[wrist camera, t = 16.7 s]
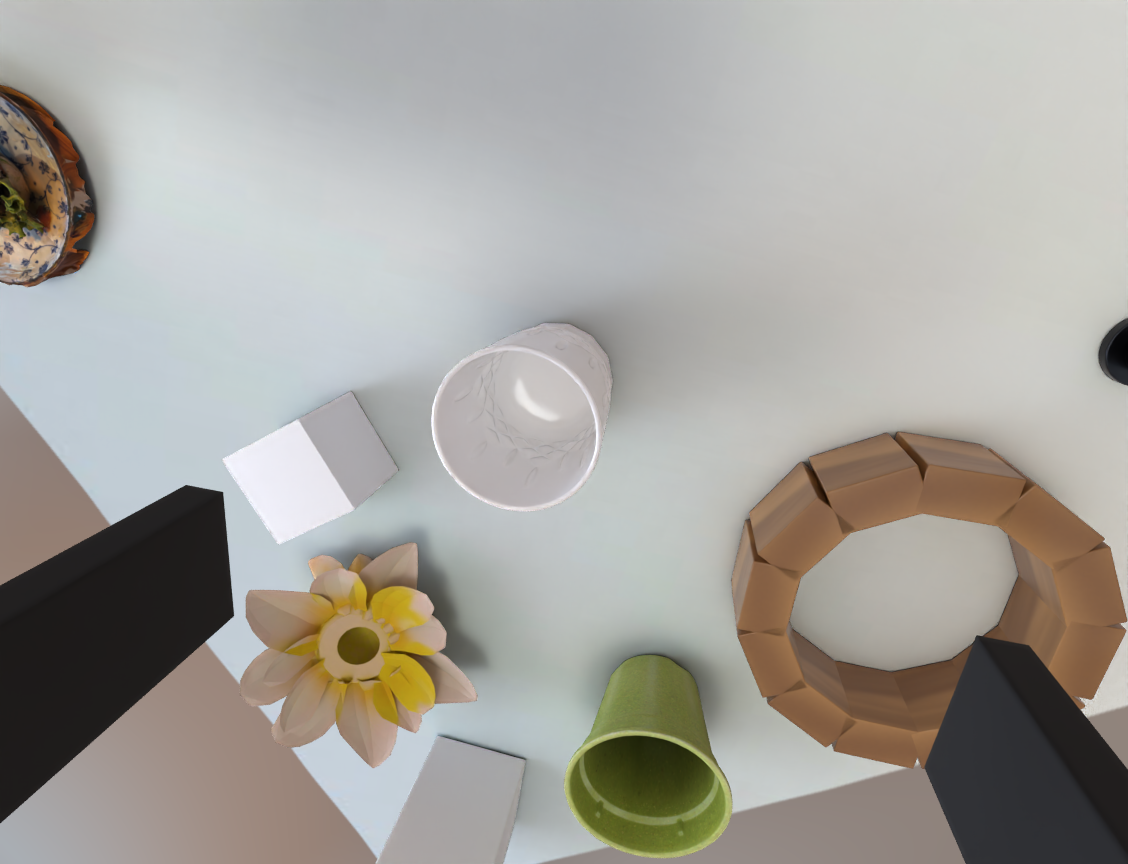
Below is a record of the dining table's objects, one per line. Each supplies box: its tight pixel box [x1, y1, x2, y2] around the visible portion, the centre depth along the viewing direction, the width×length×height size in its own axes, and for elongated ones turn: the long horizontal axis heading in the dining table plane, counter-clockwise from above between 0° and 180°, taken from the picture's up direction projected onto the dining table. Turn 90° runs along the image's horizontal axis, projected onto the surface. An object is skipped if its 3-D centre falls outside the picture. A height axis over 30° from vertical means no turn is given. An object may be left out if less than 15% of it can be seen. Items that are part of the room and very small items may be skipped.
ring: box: [731, 432, 1127, 769], centre depth 36 cm, size 18×18×5 cm
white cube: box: [222, 391, 399, 545], centre depth 39 cm, size 6×6×6 cm
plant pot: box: [564, 655, 732, 858], centre depth 40 cm, size 9×9×9 cm
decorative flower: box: [240, 543, 478, 768], centre depth 41 cm, size 15×11×10 cm
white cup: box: [432, 323, 613, 511], centre depth 33 cm, size 8×8×10 cm
